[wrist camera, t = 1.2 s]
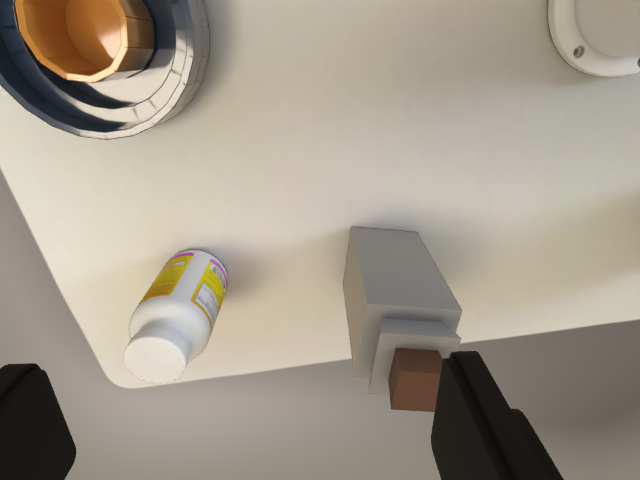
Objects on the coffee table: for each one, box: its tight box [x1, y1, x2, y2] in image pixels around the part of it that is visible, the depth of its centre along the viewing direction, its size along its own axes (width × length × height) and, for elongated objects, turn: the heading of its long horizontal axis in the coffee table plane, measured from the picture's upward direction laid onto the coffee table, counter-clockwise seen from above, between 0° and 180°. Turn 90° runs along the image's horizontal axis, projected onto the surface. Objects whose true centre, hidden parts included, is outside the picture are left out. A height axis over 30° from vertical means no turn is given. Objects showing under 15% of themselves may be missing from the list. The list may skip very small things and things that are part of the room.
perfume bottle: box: [343, 227, 462, 412], centre depth 33 cm, size 7×7×18 cm
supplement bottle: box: [124, 250, 228, 384], centre depth 36 cm, size 7×7×13 cm
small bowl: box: [15, 0, 155, 83], centre depth 29 cm, size 7×7×6 cm
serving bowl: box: [0, 0, 209, 140], centre depth 30 cm, size 16×16×5 cm
